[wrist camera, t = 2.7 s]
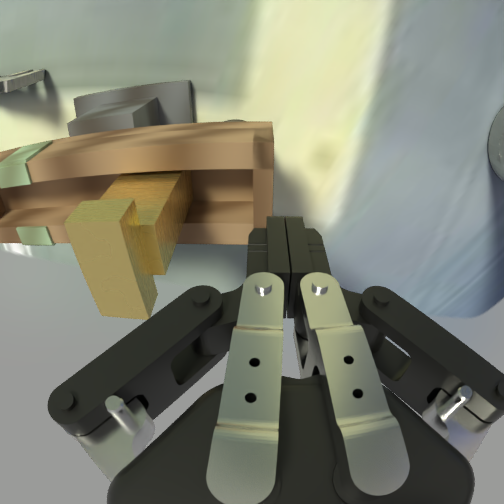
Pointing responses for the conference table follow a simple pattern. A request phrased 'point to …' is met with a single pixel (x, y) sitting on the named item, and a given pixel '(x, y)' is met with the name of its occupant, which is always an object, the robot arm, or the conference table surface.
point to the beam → (141, 166)
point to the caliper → (20, 80)
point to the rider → (130, 238)
